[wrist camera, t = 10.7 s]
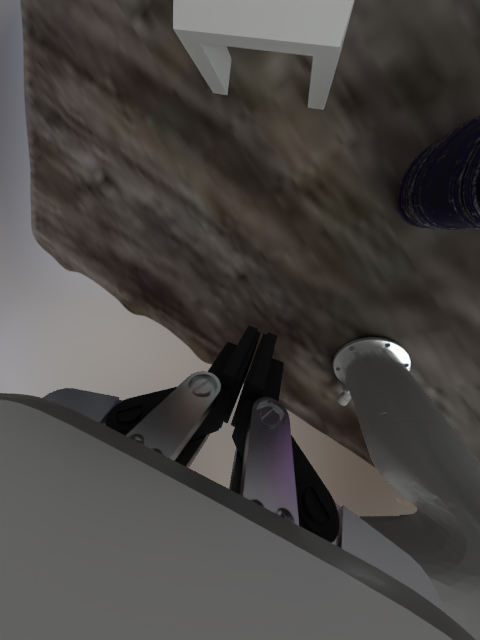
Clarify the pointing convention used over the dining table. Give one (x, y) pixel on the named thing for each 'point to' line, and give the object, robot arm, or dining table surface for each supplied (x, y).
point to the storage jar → (444, 182)
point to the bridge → (264, 35)
